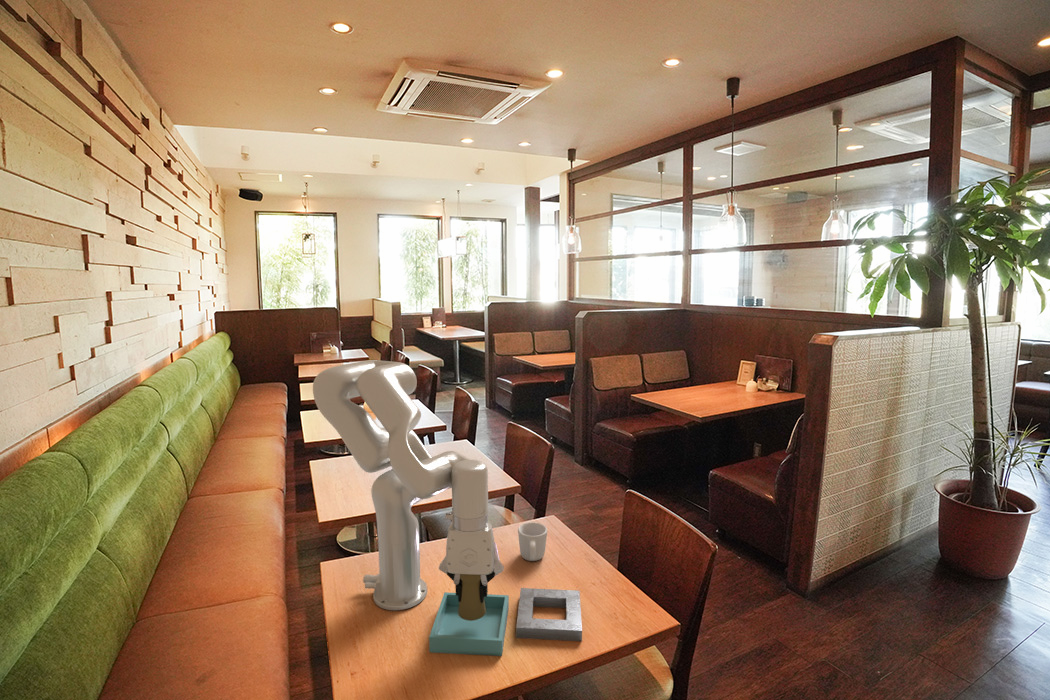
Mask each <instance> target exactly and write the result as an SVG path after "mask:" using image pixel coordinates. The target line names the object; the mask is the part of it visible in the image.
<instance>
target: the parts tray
mask: <svg viewBox="0 0 1050 700" xmlns="http://www.w3.org/2000/svg"><path fill="white" fill-rule="evenodd" d="M509 596H510V595H509V594H490V593H487V597H484V601H485V608H486V613H485V615H484V616H483V617H482V618H480V619H477V620H473V621H468V620H464V619H462V618H461V617H460V616H459V615H458V608H459V602H458V596H456V592H444V593H443V595H442V598H441V601H440V604H439V607H438V610H437V613H436V616H435V619H434V622H433V624H432V625H433V626H432V628H431V629H430V633H429V636H428V637H429V638H428V639H429V640H428V641H429V647H428V648H429V653H437V654H439V653H440V654H453V655H454V654H455V655H456V654H458V655H477V656H492V657H493V656H494V657H502V656H503V651H504V650H503V649H504V644H505V637H506V631H507V625H508V624H507V623H508V617H509V609H510V607H509V606H510V605H509V603H510V602H509V601H510V600H509V598H510V597H509Z"/></svg>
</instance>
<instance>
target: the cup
mask: <svg viewBox="0 0 1050 700" xmlns="http://www.w3.org/2000/svg"><path fill="white" fill-rule="evenodd" d="M517 533H518V535H517V536H518V543H519V552H520V556H521V557H522V558H523V559H524V560H526V561H530V562H535V561H540V560H541V559H543V557H544V556H545V552H546V545H547V537H548V528H547V526H546V525H544V524H542V523H539V522H534V521H529V522H524V523H522V524H521V525H519V527H518V529H517Z"/></svg>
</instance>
